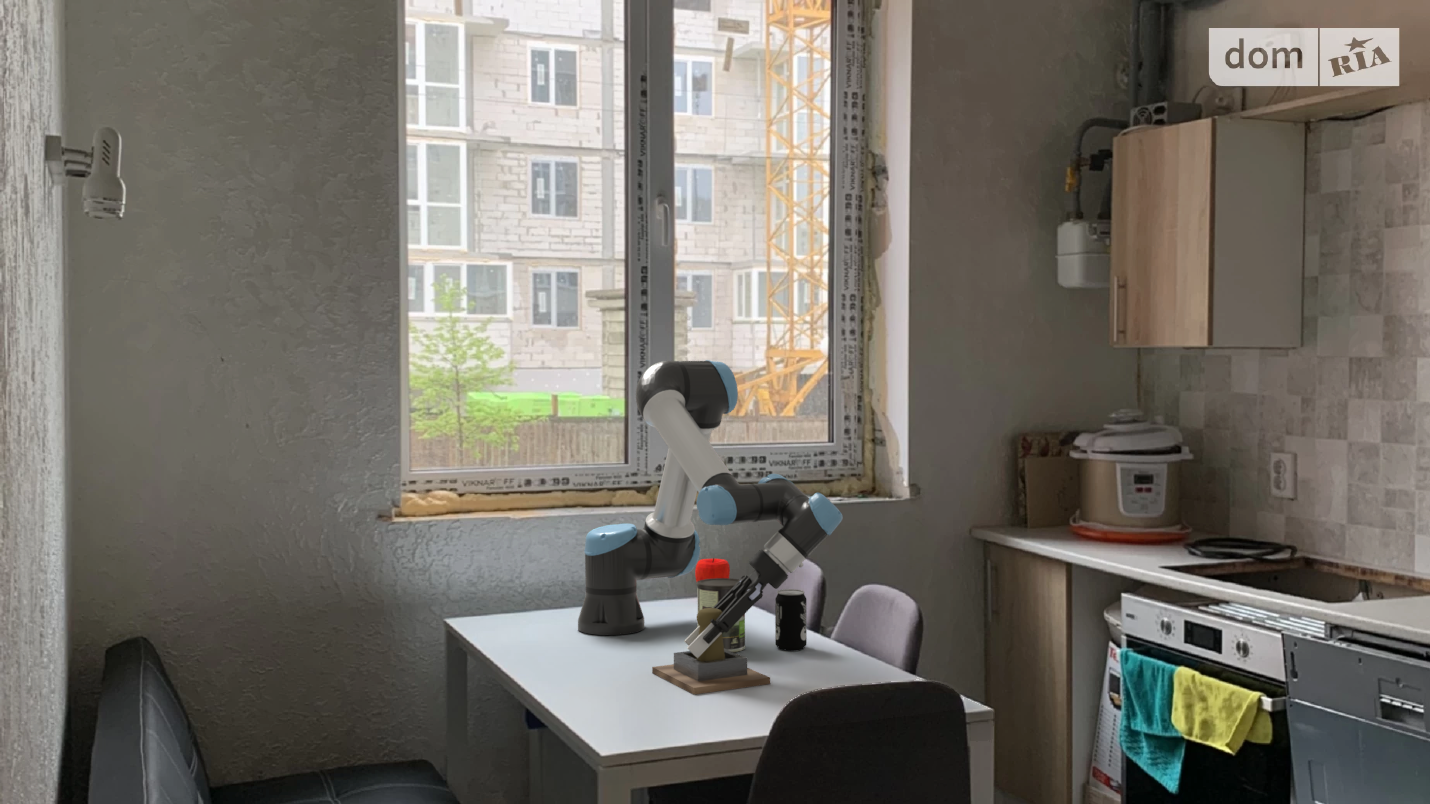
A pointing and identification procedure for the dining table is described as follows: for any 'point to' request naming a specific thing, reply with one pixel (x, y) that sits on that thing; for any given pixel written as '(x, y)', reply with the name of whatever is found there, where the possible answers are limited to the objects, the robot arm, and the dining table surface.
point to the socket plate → (710, 673)
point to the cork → (716, 647)
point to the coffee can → (710, 596)
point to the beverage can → (790, 620)
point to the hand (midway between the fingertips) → (690, 649)
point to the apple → (712, 569)
